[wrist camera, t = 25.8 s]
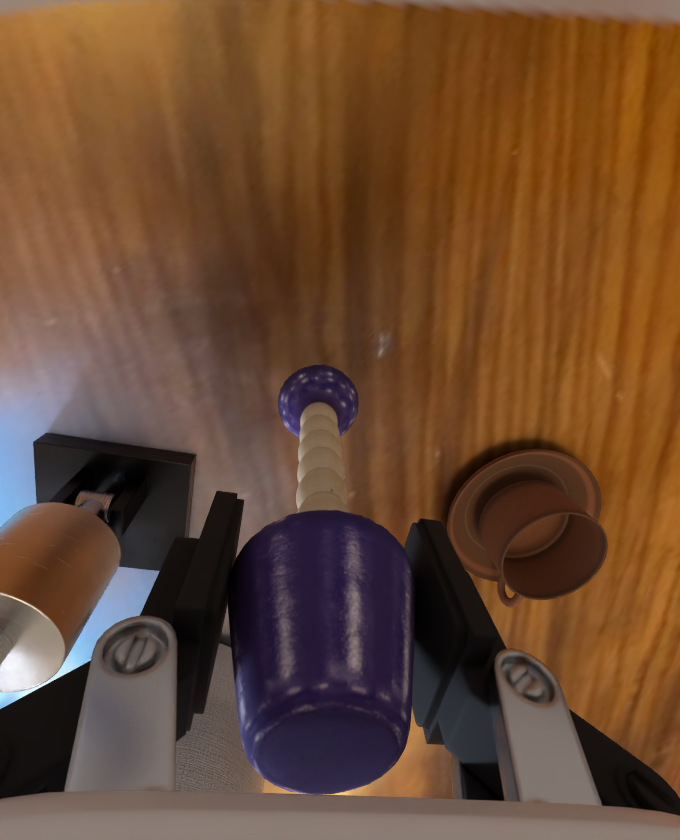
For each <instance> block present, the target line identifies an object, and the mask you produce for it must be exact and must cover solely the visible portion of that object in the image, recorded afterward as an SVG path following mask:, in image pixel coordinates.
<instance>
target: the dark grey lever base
mask: <svg viewBox="0 0 680 840" xmlns="http://www.w3.org/2000/svg"><path fill="white" fill-rule="evenodd" d="M33 446H34V463H35V481H36V498H37V504H39V503H47V502H56V503H65V504H70V505H74V503H75V500H76V498H77V496H78V494H79V493H80V492H81V491H82V490H89V491H97V492H104V493H112V494H117V495H118V498H117V500H116V501H115V502H114V504H113V505H112V506H111V508H110V509H109V523H107V522H105V523H106V524H107V525H108V526H109V527H110V528H111V530H112V531H113V532H114V534H115V536H116V537H117V539H118V542H119V545H120V549H121V559H120V564H119V567H128V568H138V569H147V570H156V571H160V570H161V567H162V565H163V563H164V561H165V559H166V556H167V554H168V552H169V550H170V547H171V545H172V543H173V541H174V539H175V537H177V536H179V537H188V533H189V523H190V513H191V502H192V492H193V482H194V471H195V461H196V455H192V454H185V453H178V452H172V451H165V450H158V449H151V448H144V447H138V446H131V445H124V444H117V443H110V442H104V441H97V440H90V439H83V438H76V437H69V436H63V435H56V434H49V433H45V434H44V435H43V436H41V437H40V438H38V439H37V440H36V441H34V442H33Z"/></svg>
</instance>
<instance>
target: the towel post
mask: <svg viewBox="0 0 680 840" xmlns="http://www.w3.org/2000/svg"><path fill="white" fill-rule="evenodd" d="M117 498H118V495H117V494H112V493H104V492H97V491H89V490H82V491H81V492H80V493H79V494H78V496H77V498H76V500H75V503H74V505H70V504H65V503H56V502H47V503H39V504H35V505H31V506H28V507H26V508H23V509H22V510H20V511H18V512H17V513H16V514H14V515H13V516H12V517H11V518H10V519H9V520H8V521H7V522H6V523H5V524H3V525H2V526H1V527H0V692H3V693H4V692H16V691H23V690H27V689H31V688H33V687H36V686H39V685H41V684H42V683H44V682H46V681H47V680H49V679H50V678H52V677H53V676H54V675H55V674H56V673H57V672H58V671H59V669H60V668H61V666H62V665H63V663H64V661H65V659H66V658H67V656H68V654H69V652H70V651H71V649H72V647H73V645H74V644H75V642H76V640H77V639H78V637H79V635H80V633H81V632H82V630H83V628H84V626H85V625H86V623H87V621H88V619H89V618H90V616H91V614H92V612H93V611H94V609H95V607H96V606H97V604H98V602H99V600H100V599H101V597H102V595H103V593H104V592H105V590H106V588H107V586H108V585H109V583H110V581H111V579H112V578H113V576H114V574H115V573H116V571H117V569H118V567H119V564H120V559H121V549H120V545H119V542H118V539H117V537H116V536H115V534H114V532H113V531H112V530H111V528H110V527H109V526H108V525H107V524H106V523H105V522H107V523H109V509H110V508H111V506H112V505H113V504H114V502H115V501H116V500H117Z"/></svg>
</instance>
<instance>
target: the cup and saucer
mask: <svg viewBox="0 0 680 840" xmlns="http://www.w3.org/2000/svg"><path fill="white" fill-rule="evenodd" d="M600 510H601V494H600V489H599V486H598V483H597V481H596V479H595V477H594V475H593V474H592V473H591V471H590V470H589V469H588V468H587V467H586V466H585V465H584V464H583V463H581V462H580V461H578V460H577V459H575V458H573V457H571V456H569V455H566V454H564V453H561V452H557V451H553V450H547V449H528V450H521V451H517V452H513V453H509V454H506V455H504V456H501V457H499V458H497V459H495V460H493V461H491V462H489V463H488V464H486V465H484V466H483V467H482V468H480V469H479V470H478V471H476V472H475V473H474V474H473V475H472V476H471V477H470V478H469V479H468V480H467V481H466V482H465V483H464V484H463V486H462V487H461V488H460V490H459V491H458V493H457V494H456V496H455V498H454V500H453V502H452V504H451V507H450V510H449V513H448V518H447V535H448V537H449V539H450V541H451V543H452V545H453V547H454V549H455V551H456V553H457V555H458V557H459V559H460V561H461V563H462V565H463V567H464V568H465V569H466V570H468V571H469V572H471V573H472V574H474V575H476V576H478V577H481V578H483V579H487V580H490V581H496V582H498V584H497V588H498V594H499V597H500V600H501V601H502V603H503V604H504V605H505V606H507V607H509V608H514V607H516V606H518V605H519V604H520V602H521V601H522V599H523V597H524V598H528V599H533V600H549V599H555V598H559V597H562V596H565V595H568V594H570V593H572V592H574V591H576V590H578V589H579V588H581V587H582V586H584V585H585V584H586V583H588V582H589V581H590V580H591V579H592V578H593V577H594V576H595V575H596V573H597V572H598V571H599V569H600V568H601V566H602V564H603V562H604V560H605V557H606V554H607V548H608V542H607V537H606V534H605V531H604V529H603V528H602V527H601V525H600V524H599V523H598V519H599V515H600ZM505 583H506V585H507V586H508V587H509V588H510V589H511V590H512V591H513V592H514V593H515V595H514V596H513V597H512V598H508V596H507V595H506V592H505Z"/></svg>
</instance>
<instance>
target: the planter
mask: <svg viewBox="0 0 680 840" xmlns="http://www.w3.org/2000/svg"><path fill="white" fill-rule="evenodd" d="M264 779H265V778H263V777H262V776H261V775H260V774H259V773H258V772H257V771H256V770H255V769H254V768H253V766H252V765H251V764H250V763H249V761H248V759H247V757H246V754H245V751H244V748H243V744H242V741H241V736H240V730H239V721H238V712H237V703H236V693H235V683H234V672H233V662H232V650H231V647H229V646H226V645H224V644H221V643H219V646H218V650H217V655H216V660H215V664H214V669H213V674H212V678H211V683H210V687H209V692H208V697H207V701H206V706H205V710H204V714H194V716H193V720H192V724H191V729H190V731H187V732H186V735H184V736H183V737H182V738H181V739H179V740H178V741H177V742H176V791H201V792H238V793H263V790H264Z"/></svg>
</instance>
